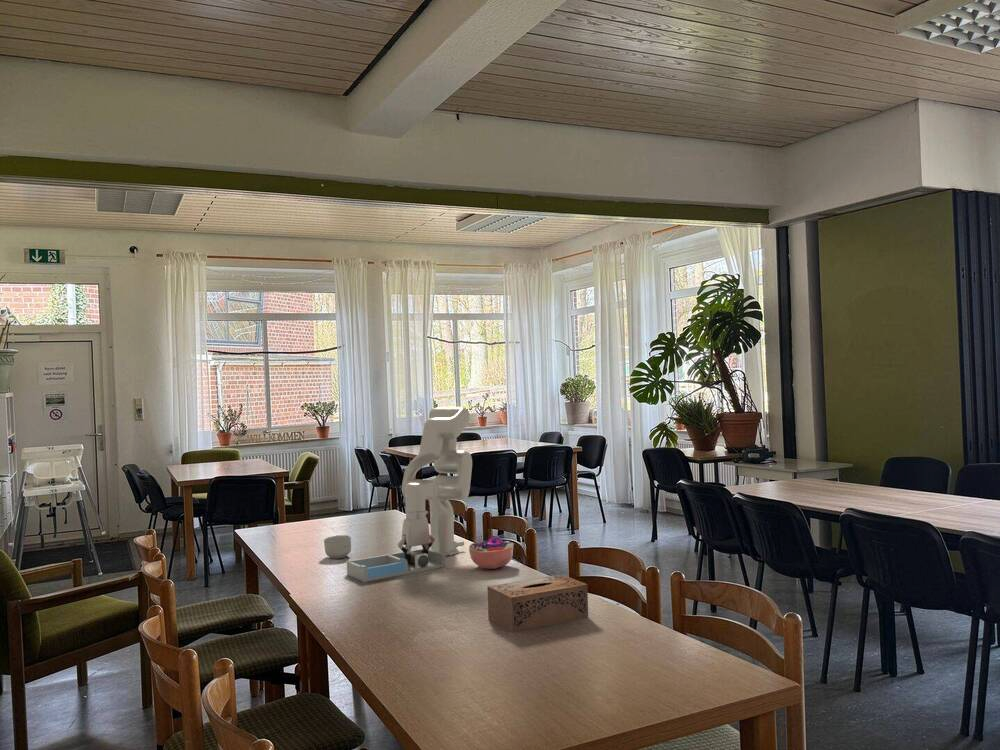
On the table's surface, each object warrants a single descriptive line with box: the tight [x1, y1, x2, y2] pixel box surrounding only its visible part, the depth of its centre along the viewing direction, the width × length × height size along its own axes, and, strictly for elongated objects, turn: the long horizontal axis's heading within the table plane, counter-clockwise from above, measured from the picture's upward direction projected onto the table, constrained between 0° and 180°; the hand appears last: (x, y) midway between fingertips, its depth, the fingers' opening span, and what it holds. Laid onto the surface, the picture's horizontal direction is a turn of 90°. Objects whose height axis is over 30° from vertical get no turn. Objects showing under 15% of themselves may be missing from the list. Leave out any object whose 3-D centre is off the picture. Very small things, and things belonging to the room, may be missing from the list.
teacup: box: [323, 534, 352, 560], centre depth 325 cm, size 14×11×8 cm
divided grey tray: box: [346, 548, 446, 583], centre depth 298 cm, size 34×14×5 cm, turn 126°
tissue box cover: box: [487, 574, 589, 633], centre depth 236 cm, size 26×14×10 cm, turn 118°
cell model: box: [468, 535, 514, 570], centre depth 300 cm, size 17×20×11 cm
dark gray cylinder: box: [410, 550, 428, 568], centre depth 303 cm, size 10×4×4 cm, turn 36°
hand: (416, 562), depth 303 cm, fingers open, 6 cm apart
